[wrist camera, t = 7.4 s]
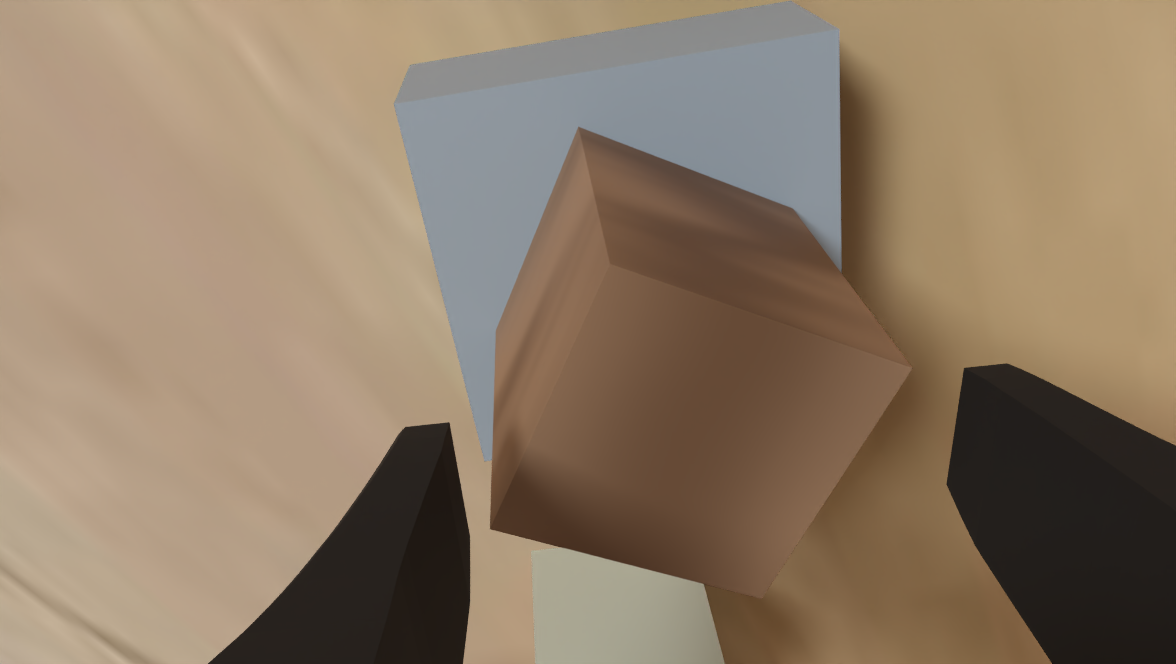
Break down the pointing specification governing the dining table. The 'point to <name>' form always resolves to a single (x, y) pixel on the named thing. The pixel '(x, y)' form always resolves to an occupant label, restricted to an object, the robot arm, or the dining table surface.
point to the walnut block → (678, 373)
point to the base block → (622, 113)
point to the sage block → (617, 613)
